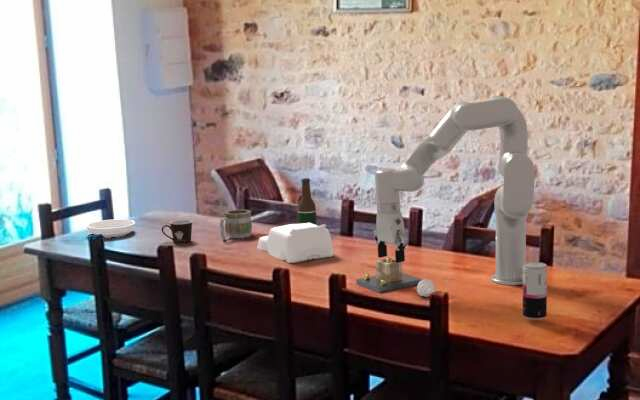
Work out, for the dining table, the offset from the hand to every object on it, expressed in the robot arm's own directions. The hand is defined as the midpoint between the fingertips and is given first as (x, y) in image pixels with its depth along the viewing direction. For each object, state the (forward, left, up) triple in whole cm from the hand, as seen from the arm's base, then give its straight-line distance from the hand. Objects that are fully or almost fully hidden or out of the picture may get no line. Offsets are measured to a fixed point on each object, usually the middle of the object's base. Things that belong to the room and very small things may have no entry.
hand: (391, 259), depth 294 cm
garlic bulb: (-20, 0, -8) cm, 21 cm away
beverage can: (-53, -12, -8) cm, 55 cm away
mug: (+90, +13, -8) cm, 92 cm away
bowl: (+126, +52, -9) cm, 137 cm away
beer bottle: (+80, -15, -8) cm, 82 cm away
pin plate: (0, +1, -8) cm, 8 cm away
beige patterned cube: (0, +1, -7) cm, 7 cm away
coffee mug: (+97, +34, -8) cm, 103 cm away
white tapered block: (+55, +5, -9) cm, 56 cm away
